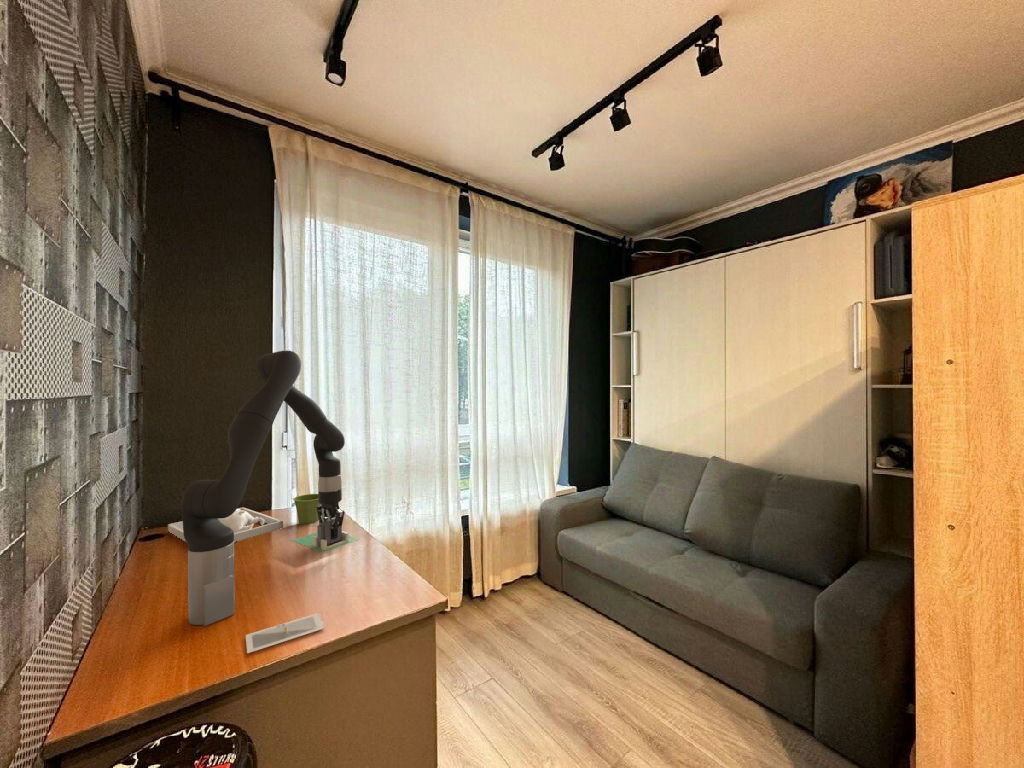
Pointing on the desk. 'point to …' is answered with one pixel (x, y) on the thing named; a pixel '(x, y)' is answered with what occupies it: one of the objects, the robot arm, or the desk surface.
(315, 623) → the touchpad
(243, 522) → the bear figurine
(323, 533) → the plug
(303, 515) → the plant pot
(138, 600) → the desk surface
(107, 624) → the desk surface
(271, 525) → the light grey flat tray
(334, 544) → the board
